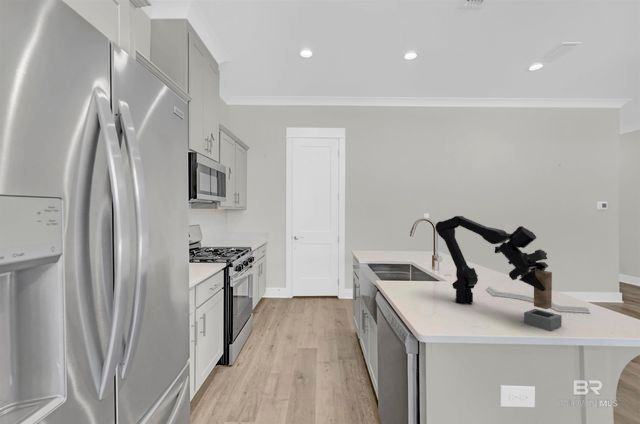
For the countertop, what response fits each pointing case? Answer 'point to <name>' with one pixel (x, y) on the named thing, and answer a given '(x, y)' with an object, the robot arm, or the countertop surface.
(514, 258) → the robot arm
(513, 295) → the molding
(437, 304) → the countertop surface
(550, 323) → the end cap
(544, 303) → the tall wooden block
